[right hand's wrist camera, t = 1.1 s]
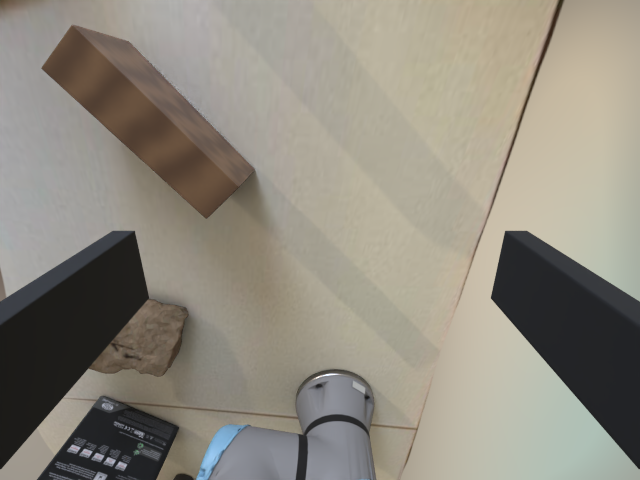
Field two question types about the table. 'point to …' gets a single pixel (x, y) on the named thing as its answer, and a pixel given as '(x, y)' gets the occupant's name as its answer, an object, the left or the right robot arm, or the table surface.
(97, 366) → the stone
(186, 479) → the robot
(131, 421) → the graphics card box
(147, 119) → the box
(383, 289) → the table surface
